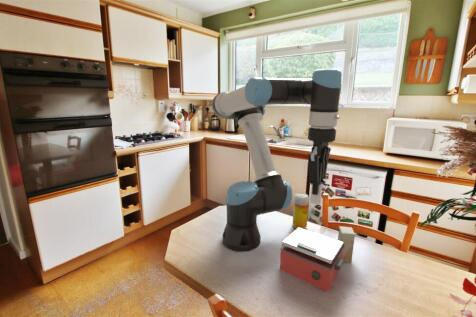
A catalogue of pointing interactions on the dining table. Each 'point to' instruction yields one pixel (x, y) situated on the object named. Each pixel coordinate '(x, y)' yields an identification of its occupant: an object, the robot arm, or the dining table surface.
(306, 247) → the lid
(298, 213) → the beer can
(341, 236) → the box
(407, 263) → the dining table surface
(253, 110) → the robot arm
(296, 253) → the red hinged chest
